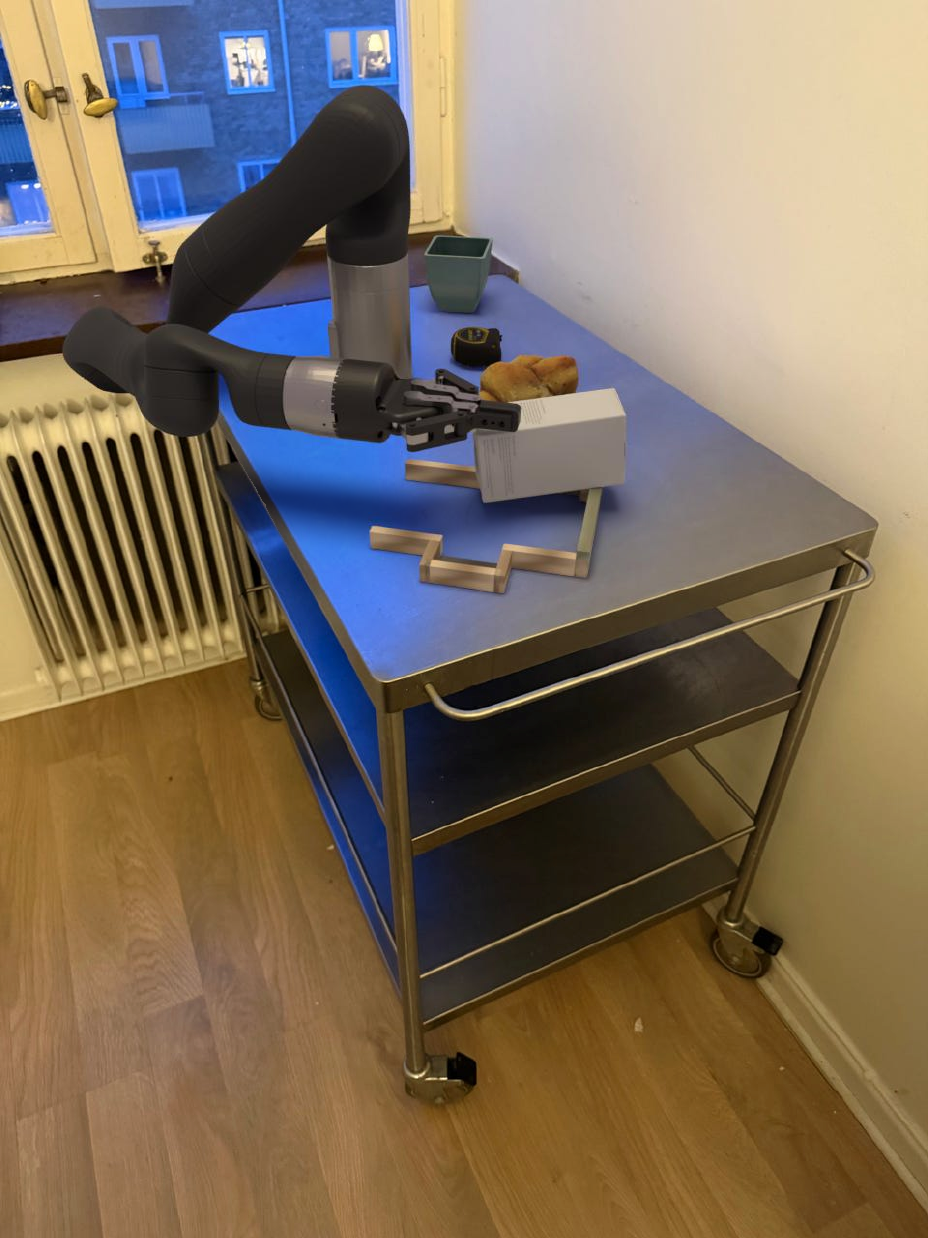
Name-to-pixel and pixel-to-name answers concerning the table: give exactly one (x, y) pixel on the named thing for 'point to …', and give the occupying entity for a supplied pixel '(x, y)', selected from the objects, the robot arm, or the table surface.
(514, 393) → the bread roll
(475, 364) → the tape measure
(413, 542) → the trap lane
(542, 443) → the skincare box
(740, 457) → the table surface
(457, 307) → the flower pot
